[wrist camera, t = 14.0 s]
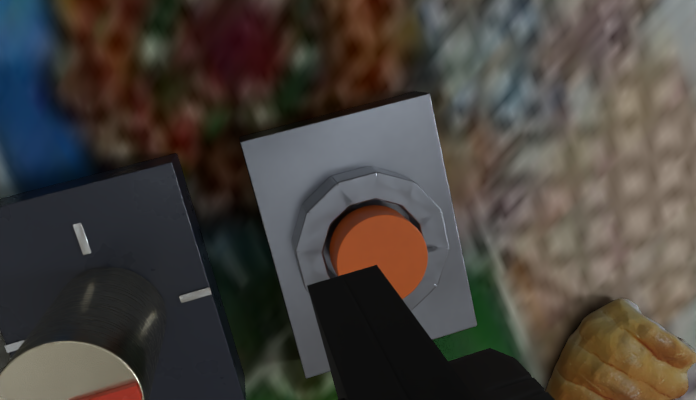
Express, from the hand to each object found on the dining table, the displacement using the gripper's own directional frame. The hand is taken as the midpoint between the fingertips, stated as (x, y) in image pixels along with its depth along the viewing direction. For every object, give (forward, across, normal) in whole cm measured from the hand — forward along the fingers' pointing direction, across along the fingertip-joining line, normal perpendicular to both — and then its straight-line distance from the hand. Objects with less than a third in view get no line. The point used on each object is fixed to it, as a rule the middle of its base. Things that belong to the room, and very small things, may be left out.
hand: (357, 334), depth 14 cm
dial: (+16, -9, -4) cm, 19 cm away
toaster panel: (+19, -9, -4) cm, 21 cm away
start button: (+16, +3, -4) cm, 16 cm away
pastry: (+19, +15, -16) cm, 29 cm away
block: (+19, +3, -4) cm, 20 cm away
